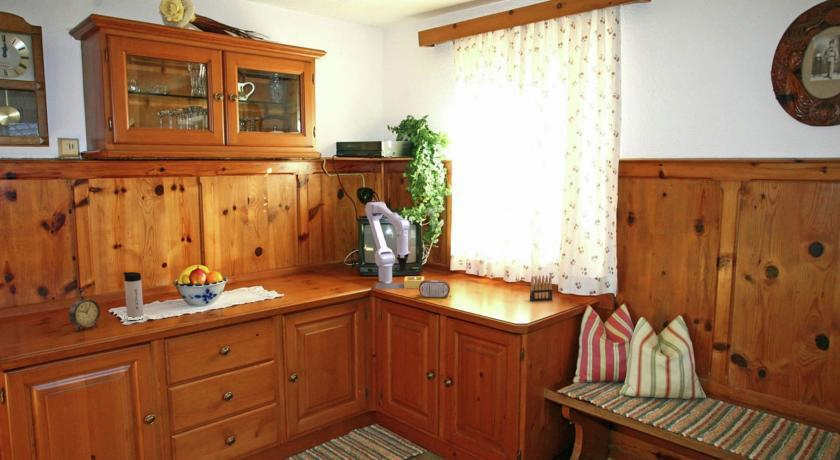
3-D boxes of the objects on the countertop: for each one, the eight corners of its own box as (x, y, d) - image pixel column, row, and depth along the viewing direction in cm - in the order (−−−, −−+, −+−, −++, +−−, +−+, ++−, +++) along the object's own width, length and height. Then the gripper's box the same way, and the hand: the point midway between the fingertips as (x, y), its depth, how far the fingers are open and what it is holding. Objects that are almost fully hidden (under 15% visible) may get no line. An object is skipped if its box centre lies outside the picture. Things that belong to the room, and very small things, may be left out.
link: (405, 284, 307) (405, 276, 307) (424, 284, 307) (424, 276, 307) (404, 288, 297) (404, 280, 297) (424, 288, 297) (423, 280, 297)
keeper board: (376, 285, 310) (376, 283, 310) (426, 285, 309) (426, 283, 309) (374, 290, 297) (374, 288, 297) (426, 290, 296) (426, 288, 296)
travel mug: (130, 317, 250) (126, 271, 247) (146, 316, 250) (143, 270, 248) (123, 321, 243) (120, 273, 241) (140, 320, 244) (137, 273, 241)
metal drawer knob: (410, 285, 305) (410, 276, 304) (418, 285, 305) (418, 276, 304) (410, 286, 301) (410, 278, 300) (418, 286, 301) (418, 278, 300)
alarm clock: (76, 333, 227) (73, 292, 225) (67, 331, 229) (64, 291, 227) (102, 326, 237) (99, 286, 235) (93, 324, 239) (90, 285, 237)
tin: (450, 296, 283) (450, 279, 282) (449, 298, 280) (449, 281, 279) (419, 296, 285) (418, 279, 284) (418, 297, 282) (418, 280, 281)
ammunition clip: (550, 299, 278) (551, 274, 276) (552, 300, 276) (553, 275, 274) (529, 300, 276) (529, 275, 274) (530, 301, 274) (531, 276, 272)
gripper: (410, 245, 294) (410, 272, 296) (410, 241, 309) (411, 266, 310) (395, 245, 295) (396, 272, 296) (397, 241, 309) (397, 266, 311)
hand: (402, 269), depth 303 cm, fingers open, 7 cm apart
